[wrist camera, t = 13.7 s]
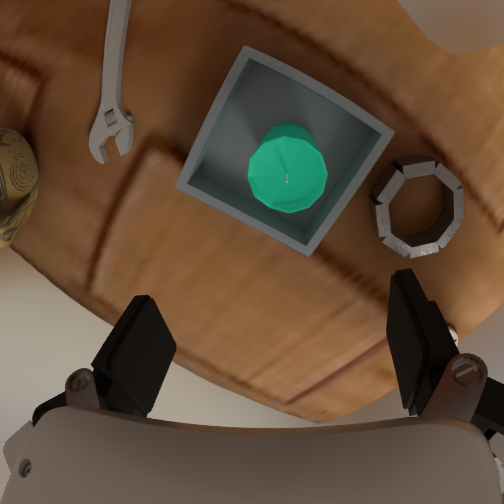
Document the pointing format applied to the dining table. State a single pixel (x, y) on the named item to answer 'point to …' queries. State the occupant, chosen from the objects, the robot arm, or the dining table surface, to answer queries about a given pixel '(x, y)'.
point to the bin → (257, 126)
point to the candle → (287, 169)
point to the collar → (441, 227)
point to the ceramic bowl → (16, 183)
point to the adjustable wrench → (113, 88)
